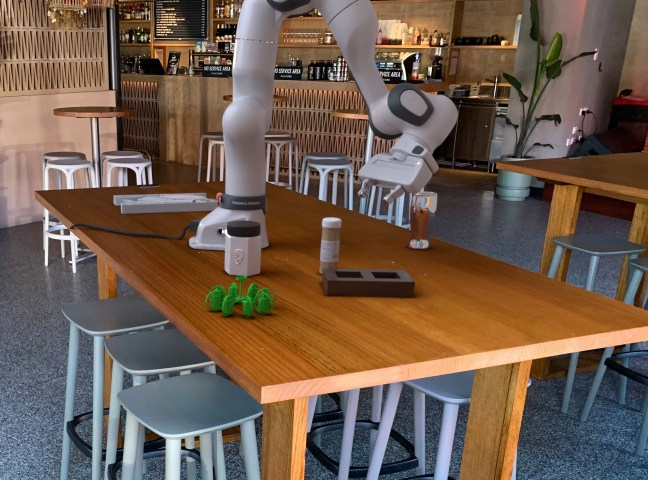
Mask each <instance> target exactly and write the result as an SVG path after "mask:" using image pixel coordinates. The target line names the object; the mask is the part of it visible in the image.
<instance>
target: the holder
mask: <svg viewBox="0 0 648 480" xmlns="http://www.w3.org/2000/svg"><path fill="white" fill-rule="evenodd" d="M321 285H322V287H323V289H324V292H325V294H326V297H327V296H328V297H329V296H331V297H333V296H334V297H381V298H382V297H384V298H387V297H388V298H391V297H392V298H414V296H415V287H416V281H415V280H414V279H413V278H412V276H411V275H410V274H409V273H408V272H407V271H406V270H405V269H387V268H383V269H382V268H381V269H380V268H378V269H377V268H337V269H330V268H323V269H322V274H321Z"/></svg>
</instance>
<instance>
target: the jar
mask: <svg viewBox="0 0 648 480" xmlns="http://www.w3.org/2000/svg"><path fill="white" fill-rule="evenodd" d="M260 229H261V224H260V223H258V222H255V221H246V220H238V221H231V222H228V223H227V233H226V234H225V251H224V272H226V273H227V274H228V275H229V276H235V277H236V276H246V277H247V278H248V277H251V276H256V275H259V274H261V263H262V262H261V259H262V248H261V239H262V236H261V235H260Z"/></svg>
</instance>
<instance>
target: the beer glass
mask: <svg viewBox="0 0 648 480" xmlns="http://www.w3.org/2000/svg"><path fill="white" fill-rule="evenodd" d="M411 195H412V196H411V199H410V207H409V225H410V226H409V227H410V228H409V229H410V235H409V239H408V242H407V248H408V249H411V250H415V251H416V250H417V251H427V250H429V249H431V241H430V240H431V239H430V238H431V231H432V228H433V226H434V222H435V218H436V214H437V207H438V193H437V192H433V191H423V190H421V191H420V192H418V193H416V194H411Z"/></svg>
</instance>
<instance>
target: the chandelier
mask: <svg viewBox="0 0 648 480" xmlns="http://www.w3.org/2000/svg"><path fill="white" fill-rule="evenodd" d="M235 280H236V281H240V283H239V284H240V286H238V285H237V284H236V282H231V283H230V286H229V288H228V290H226V288H225V287H224V286H222V285H214V286H212V287H211V288H210V290H209V293H207V295H206V297H205V305H206V307H207V308H208V309H209V310H210V311H213V312H218V311H221V313H222V315H223V316H225V317H229V316H231V315H232V314H233V313H234V308H235V304H236V303H242V314H243V315H245V317H246V318H252V316H253V314H254V308H255V310H256V311H257V312H258V313H260V314H262V315H266V314H269V313H271V312H272V310H273V309H274V303H275V302H276V293H275V292H274V291H273V290H272V289H271V288H269V287H264V288H261V289H259V286H258V284H257V283H251V284H250V285H249V286H248V289H247V293H246V295H245V296H244V297H243V281H247V280H248V276H247V277H246V276H235ZM214 288H215V289H214ZM213 289H214V290H213ZM227 291H228V292H227ZM270 291H271V292H270ZM271 293H272V295H273V298H272V297H271ZM208 299H210V307H209V305H208ZM270 307H271V308H270Z"/></svg>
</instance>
